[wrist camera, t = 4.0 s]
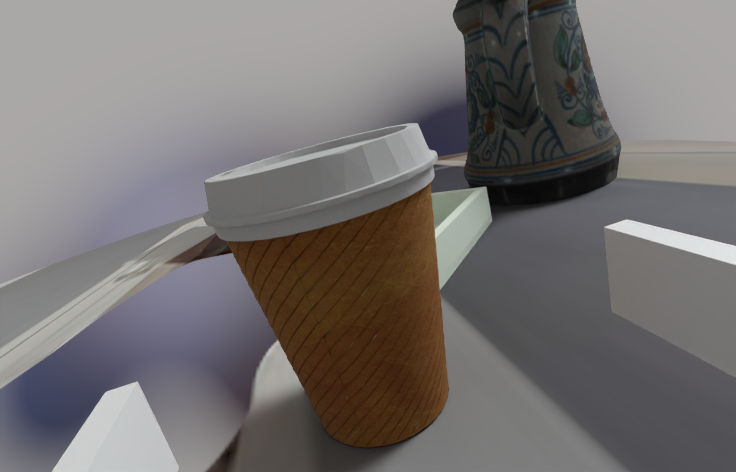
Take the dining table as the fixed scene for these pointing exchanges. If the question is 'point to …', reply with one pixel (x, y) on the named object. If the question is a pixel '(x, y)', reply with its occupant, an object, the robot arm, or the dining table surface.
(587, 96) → the beer stein
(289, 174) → the disposable coffee cup
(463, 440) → the dining table surface
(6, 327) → the dining table surface
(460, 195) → the tray
